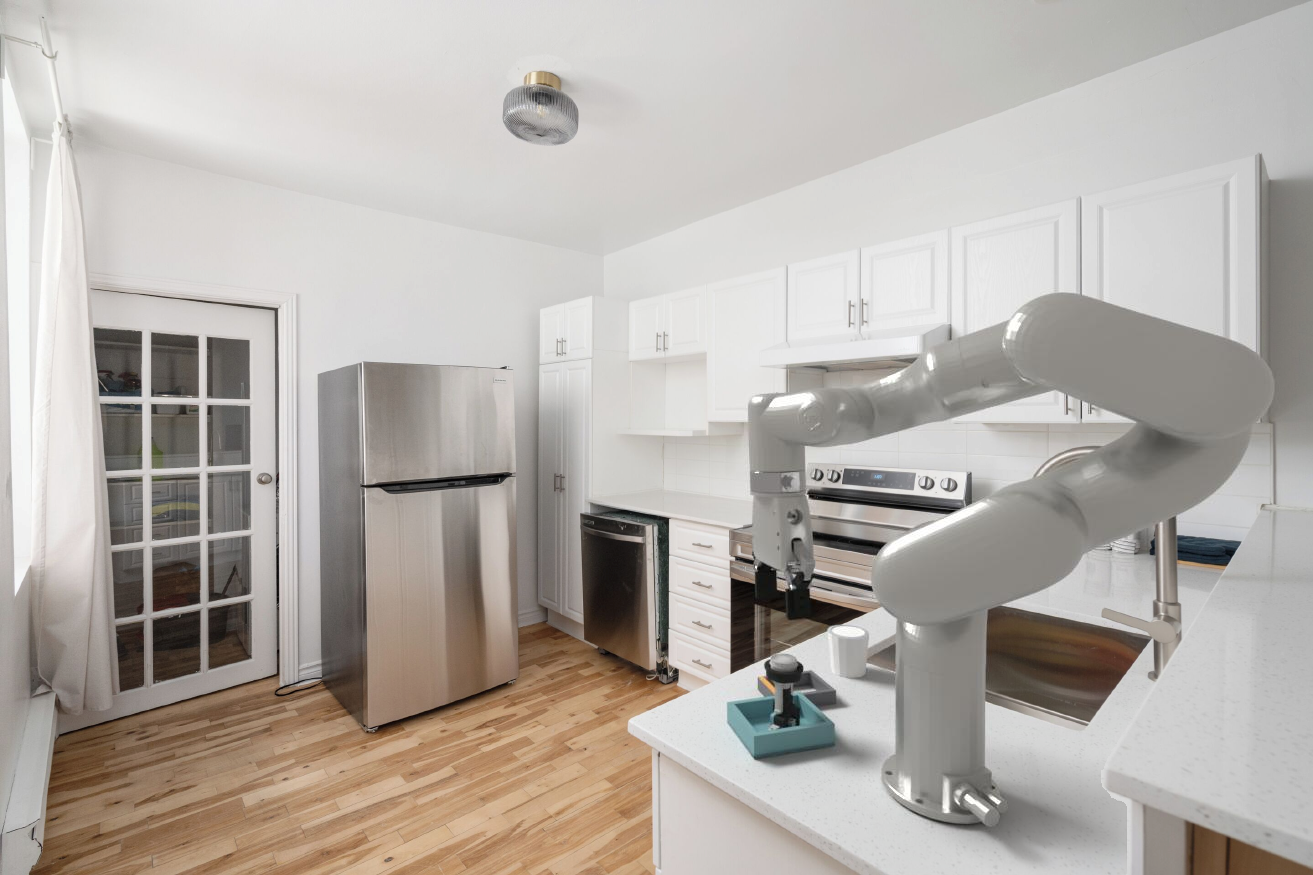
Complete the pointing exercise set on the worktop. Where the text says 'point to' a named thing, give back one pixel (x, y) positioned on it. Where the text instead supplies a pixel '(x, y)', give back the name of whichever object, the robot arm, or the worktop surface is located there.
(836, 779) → the worktop surface
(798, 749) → the tray
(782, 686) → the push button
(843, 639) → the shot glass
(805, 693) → the box
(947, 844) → the worktop surface
